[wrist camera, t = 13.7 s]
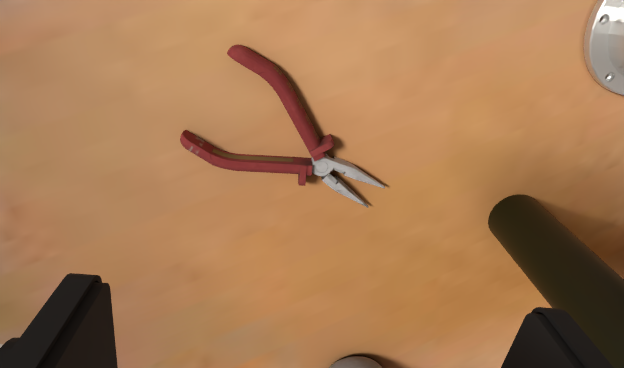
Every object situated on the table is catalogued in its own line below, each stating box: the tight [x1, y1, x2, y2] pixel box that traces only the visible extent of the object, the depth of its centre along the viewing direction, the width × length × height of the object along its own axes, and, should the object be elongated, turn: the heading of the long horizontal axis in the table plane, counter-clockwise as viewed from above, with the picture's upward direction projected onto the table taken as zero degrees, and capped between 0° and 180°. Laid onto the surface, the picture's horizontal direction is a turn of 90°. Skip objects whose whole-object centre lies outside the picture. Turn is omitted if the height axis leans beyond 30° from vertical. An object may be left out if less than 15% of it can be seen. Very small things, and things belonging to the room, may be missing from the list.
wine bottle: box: [488, 195, 624, 368], centre depth 33 cm, size 6×6×30 cm
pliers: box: [180, 45, 385, 207], centre depth 41 cm, size 12×20×3 cm, turn 56°
